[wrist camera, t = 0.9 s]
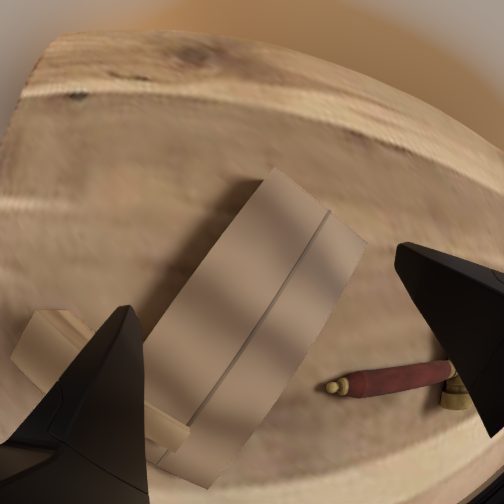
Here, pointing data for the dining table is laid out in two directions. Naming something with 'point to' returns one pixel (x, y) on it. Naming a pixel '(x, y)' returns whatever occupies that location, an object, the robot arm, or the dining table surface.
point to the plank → (245, 324)
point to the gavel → (406, 382)
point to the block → (60, 357)
